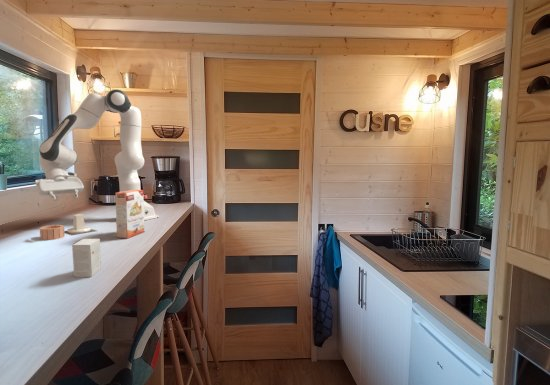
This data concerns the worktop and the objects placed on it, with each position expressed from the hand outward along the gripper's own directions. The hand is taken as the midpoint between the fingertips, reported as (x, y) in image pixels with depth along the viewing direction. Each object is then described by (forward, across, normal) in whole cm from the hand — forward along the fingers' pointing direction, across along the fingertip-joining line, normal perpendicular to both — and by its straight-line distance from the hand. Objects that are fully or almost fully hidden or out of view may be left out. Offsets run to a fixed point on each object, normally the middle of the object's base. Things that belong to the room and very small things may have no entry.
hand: (66, 198), depth 178 cm
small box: (+63, -24, -41) cm, 79 cm away
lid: (+19, 0, +2) cm, 19 cm away
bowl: (+22, -13, 0) cm, 25 cm away
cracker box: (+36, +13, -15) cm, 41 cm away
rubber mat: (+19, 0, +2) cm, 20 cm away
